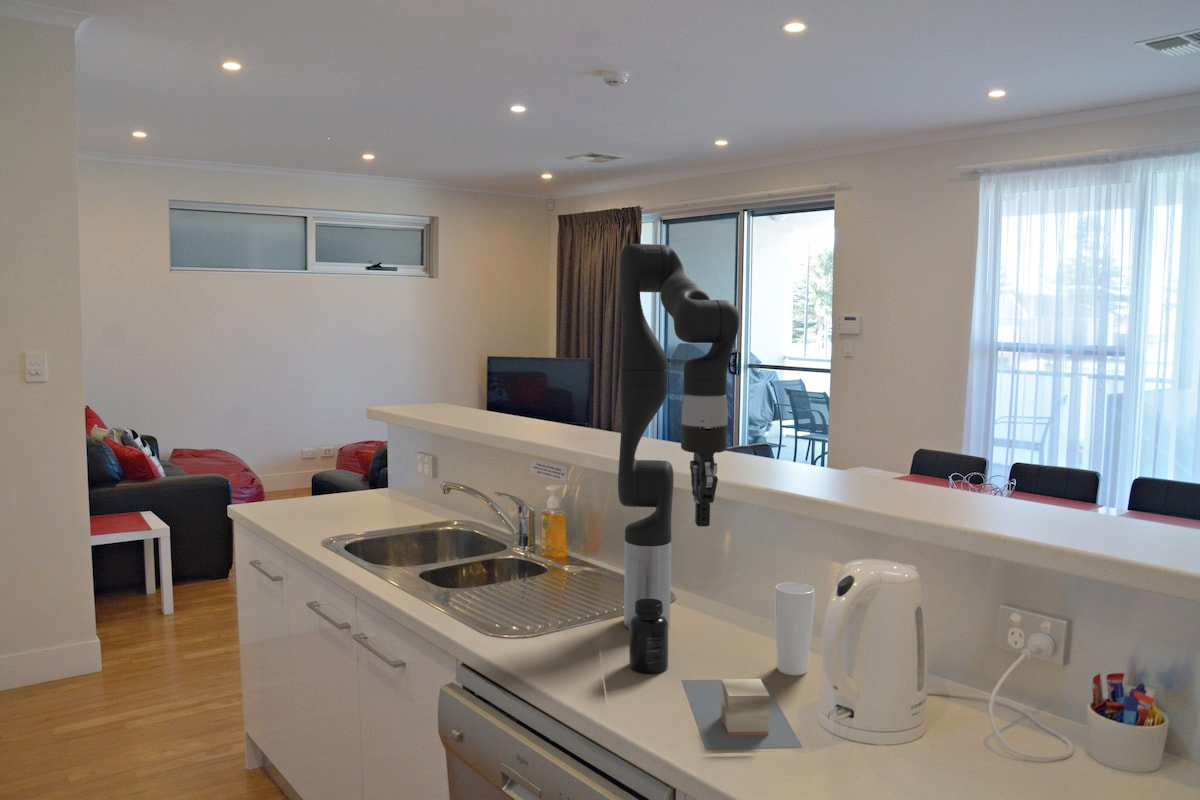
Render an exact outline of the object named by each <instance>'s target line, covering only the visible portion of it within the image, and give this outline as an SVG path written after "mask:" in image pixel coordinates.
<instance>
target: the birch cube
mask: <svg viewBox="0 0 1200 800" xmlns="http://www.w3.org/2000/svg"><path fill="white" fill-rule="evenodd" d="M761 679H762V678H724V679H723V678H722V679H720V680H721V719H722V722H723V724H724V727H725V729H726V731H727V734H728V735H769V702H770V695H769V693H768V692H767V690H766V688H765V686H764V685H763V683H762V681H761Z"/></svg>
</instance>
